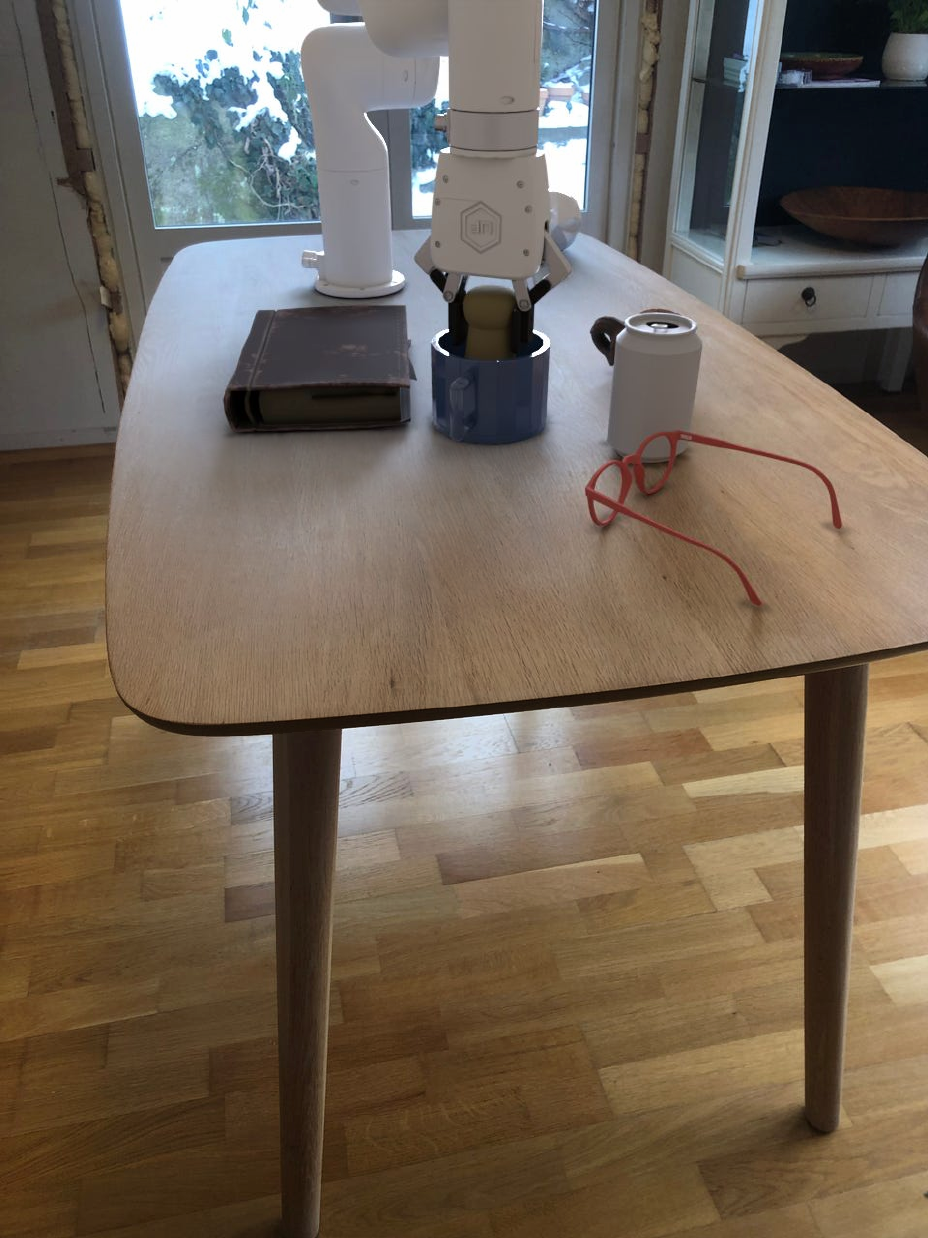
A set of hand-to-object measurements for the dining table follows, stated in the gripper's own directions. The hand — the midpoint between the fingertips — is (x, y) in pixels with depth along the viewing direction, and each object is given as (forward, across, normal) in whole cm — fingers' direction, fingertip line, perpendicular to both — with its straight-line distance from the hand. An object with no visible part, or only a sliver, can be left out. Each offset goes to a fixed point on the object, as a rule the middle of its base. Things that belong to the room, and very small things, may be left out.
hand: (490, 343), depth 90 cm
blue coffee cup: (+8, 0, -2) cm, 8 cm away
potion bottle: (+8, -16, +70) cm, 73 cm away
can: (+8, +16, -1) cm, 18 cm away
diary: (+8, -19, +3) cm, 21 cm away
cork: (+6, 0, 0) cm, 6 cm away
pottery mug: (+8, +11, +18) cm, 23 cm away
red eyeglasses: (+8, +24, -15) cm, 30 cm away
